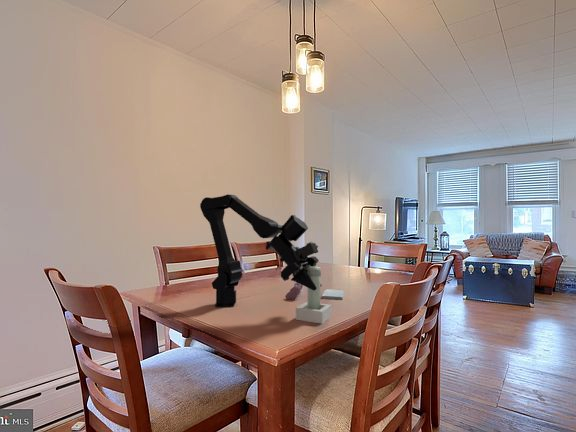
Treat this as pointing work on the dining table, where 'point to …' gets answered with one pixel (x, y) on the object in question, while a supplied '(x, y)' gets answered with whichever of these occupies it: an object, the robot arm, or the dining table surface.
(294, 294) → the video game controller
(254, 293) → the dining table surface
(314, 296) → the toggle switch lever
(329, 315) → the housing
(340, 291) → the hard drive
